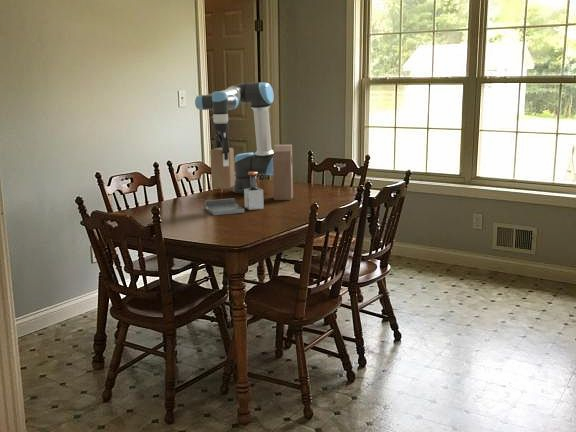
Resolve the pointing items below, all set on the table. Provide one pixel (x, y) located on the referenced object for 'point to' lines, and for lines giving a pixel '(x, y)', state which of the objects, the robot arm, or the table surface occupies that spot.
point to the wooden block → (222, 169)
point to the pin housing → (254, 198)
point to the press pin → (253, 179)
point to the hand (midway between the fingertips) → (222, 164)
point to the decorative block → (282, 172)
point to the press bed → (223, 207)
